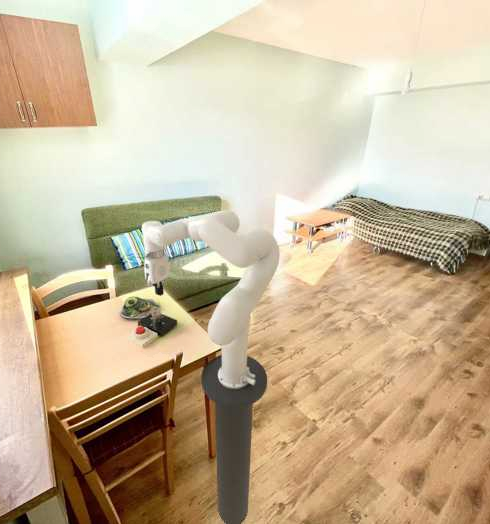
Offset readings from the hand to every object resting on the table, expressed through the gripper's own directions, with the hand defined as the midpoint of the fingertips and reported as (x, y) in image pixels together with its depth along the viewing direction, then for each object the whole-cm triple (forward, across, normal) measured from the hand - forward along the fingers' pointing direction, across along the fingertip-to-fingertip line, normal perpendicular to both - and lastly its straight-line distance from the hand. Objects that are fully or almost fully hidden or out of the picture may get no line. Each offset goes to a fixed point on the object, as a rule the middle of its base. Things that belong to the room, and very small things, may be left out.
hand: (159, 294), depth 115 cm
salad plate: (+22, +9, +27) cm, 36 cm away
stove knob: (+20, +5, +9) cm, 22 cm away
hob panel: (+22, +5, +9) cm, 24 cm away
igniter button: (+18, -6, +8) cm, 21 cm away
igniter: (+22, -6, +8) cm, 24 cm away
